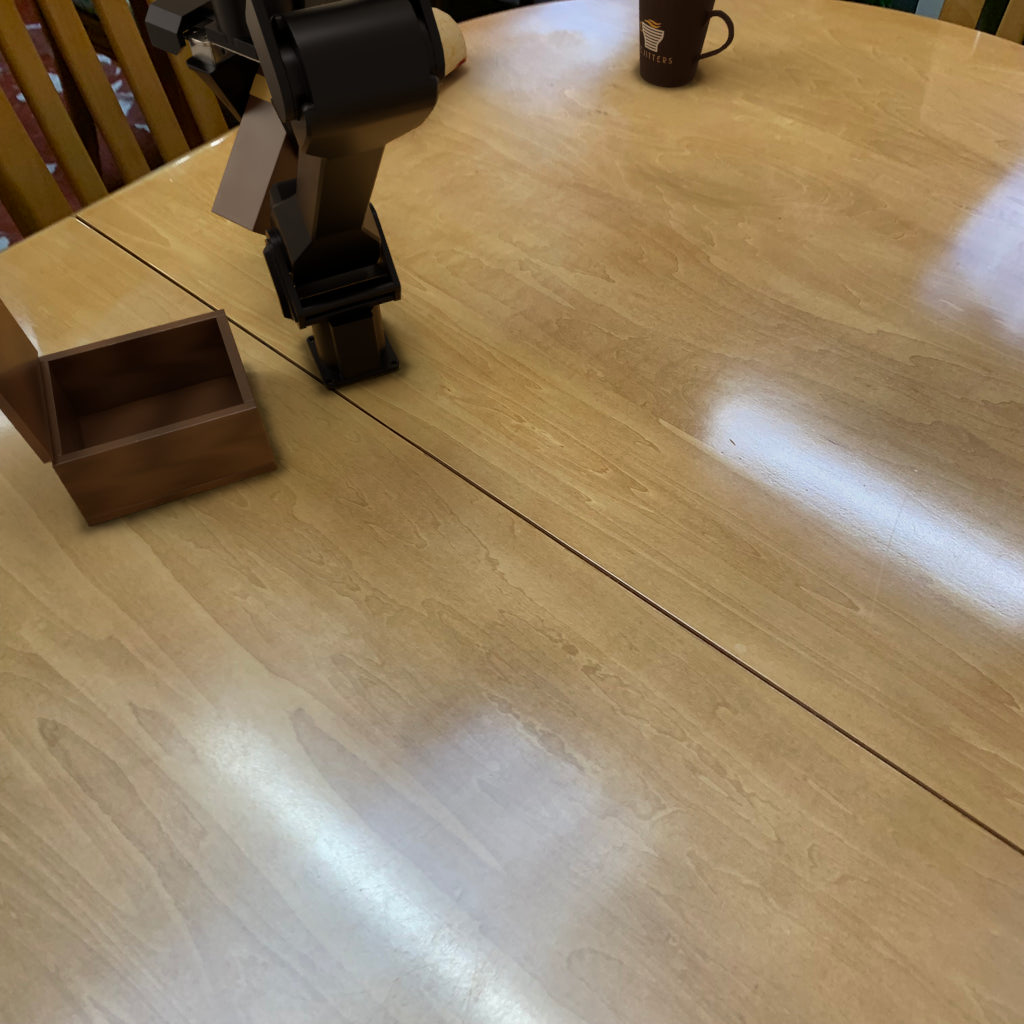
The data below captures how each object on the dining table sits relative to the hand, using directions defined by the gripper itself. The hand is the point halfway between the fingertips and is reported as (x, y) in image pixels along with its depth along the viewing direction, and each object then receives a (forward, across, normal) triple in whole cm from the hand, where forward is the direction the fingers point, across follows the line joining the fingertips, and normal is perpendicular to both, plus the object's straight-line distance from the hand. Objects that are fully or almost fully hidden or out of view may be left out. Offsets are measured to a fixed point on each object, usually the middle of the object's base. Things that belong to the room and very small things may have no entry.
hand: (286, 152), depth 74 cm
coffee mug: (+14, -11, -50) cm, 53 cm away
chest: (+12, -4, +22) cm, 25 cm away
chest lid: (-2, 0, +27) cm, 27 cm away
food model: (+10, +15, -20) cm, 27 cm away
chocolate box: (+4, 0, +6) cm, 7 cm away
